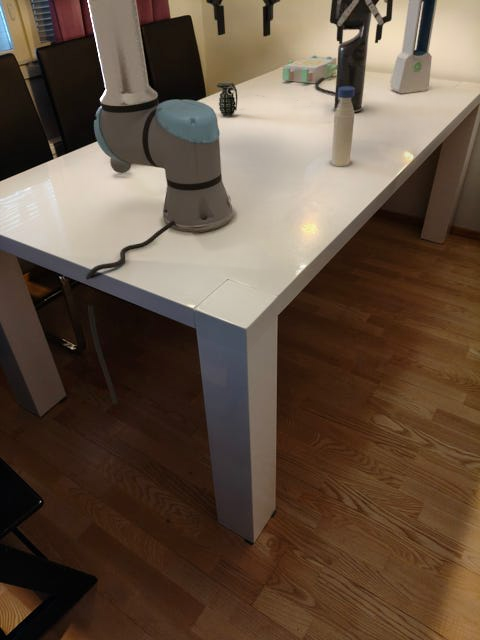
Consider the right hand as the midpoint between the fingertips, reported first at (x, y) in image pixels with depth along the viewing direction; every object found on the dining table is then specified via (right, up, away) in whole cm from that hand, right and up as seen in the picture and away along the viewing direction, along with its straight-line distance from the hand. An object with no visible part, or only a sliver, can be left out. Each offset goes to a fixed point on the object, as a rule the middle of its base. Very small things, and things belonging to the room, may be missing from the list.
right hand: (358, 43), depth 119 cm
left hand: (-28, +8, +10) cm, 31 cm away
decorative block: (+1, +36, +90) cm, 97 cm away
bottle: (-2, -26, +10) cm, 28 cm away
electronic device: (+35, +19, +66) cm, 77 cm away
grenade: (-33, +3, +51) cm, 61 cm away
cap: (-3, -12, -1) cm, 12 cm away
